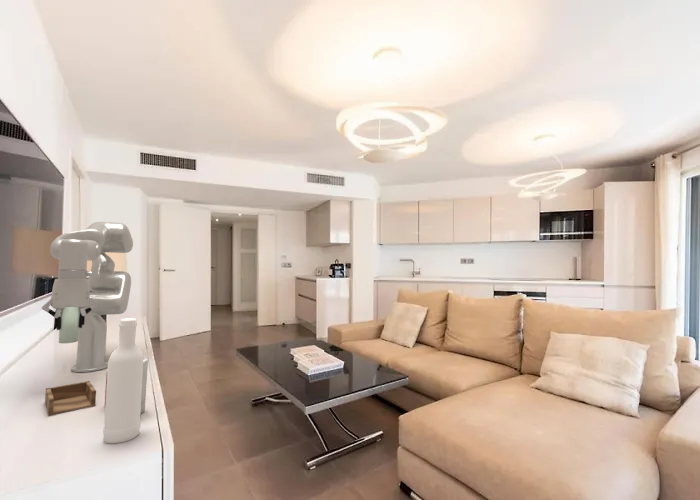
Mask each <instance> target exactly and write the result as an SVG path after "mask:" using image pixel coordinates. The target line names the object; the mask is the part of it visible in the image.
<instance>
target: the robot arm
mask: <svg viewBox="0 0 700 500" xmlns="http://www.w3.org/2000/svg"><path fill="white" fill-rule="evenodd" d="M133 247H134V241H133V238H132V234H131V231H130V229H129V228H128V226H127V224H125V223H123V222H111V221H95V222H93V223H91V224H90V225H89V226H88V227H87V228H85V229H81V230H76V231H69V232H66V233H62V234H60V235H58V236H57V237H56V238H55V239H53V241H52V242H51V245H50V248H49V253H50V255H51V257H53V259H56V260H58V271H57V272H58V273H57V274H58V275H57V278H55V279H54V282H53V285H52V291H51V297H50V299H49V300H48V301H47V302H46V303H44V304H43V306H42V307H41V309H42V310H43V311H44V312H46V313H48V314H49V315H51V316H52V317H54V322H53V328H56V330H57V331H59V329H60V324H61V318H60V313H61V311H62V309H64V308H65V307H78V308H80V318H79V336H78V341H77V351H76V364H75V365H72V366H71V369H70V370H71V372H74V373H88V372H89V373H91V372H95V371H101V370H104V369H106V368H107V369H108V361H106V349H107V348H106V345H107V331H108V329H107V327H108V326H107V325H108V324H107V321H106V320H105V319H104V318H103V317H102V316H103V315H104V316H105V315H106V316H107V315H121V314H124V313H125V312H126V310H127V308H128V304H129V299H130V294H131V293H130V292H131V287H132V276H131V275H130V273H129V272H127V271H123V270H119V271H118V270H117V271H116V270H115V267H116V263H115V261H114V260H113V259H112V258H111V257H110V256H109V255H108V254H106V253H111V254H112V253H117V254H127V253H130V252H131V251H132V250H133ZM88 261H91V268H90V271H88V270H87V268H88ZM87 277H88V278H87ZM50 307H51V308H50ZM53 309H54V310H55V311H54V310H53Z"/></svg>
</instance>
